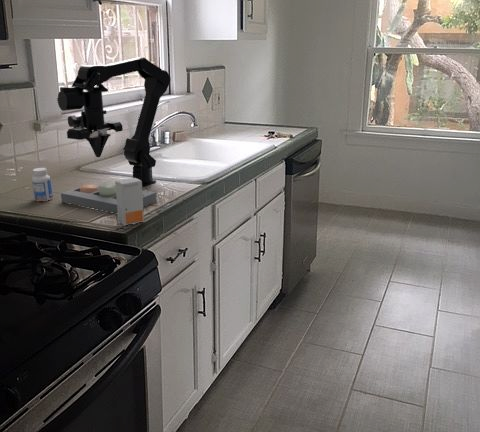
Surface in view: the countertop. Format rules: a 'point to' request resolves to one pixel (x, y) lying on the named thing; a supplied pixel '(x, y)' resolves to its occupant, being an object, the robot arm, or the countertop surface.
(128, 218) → the skincare box
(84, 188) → the button terracotta
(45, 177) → the pill bottle
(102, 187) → the button sage
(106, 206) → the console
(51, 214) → the countertop surface
